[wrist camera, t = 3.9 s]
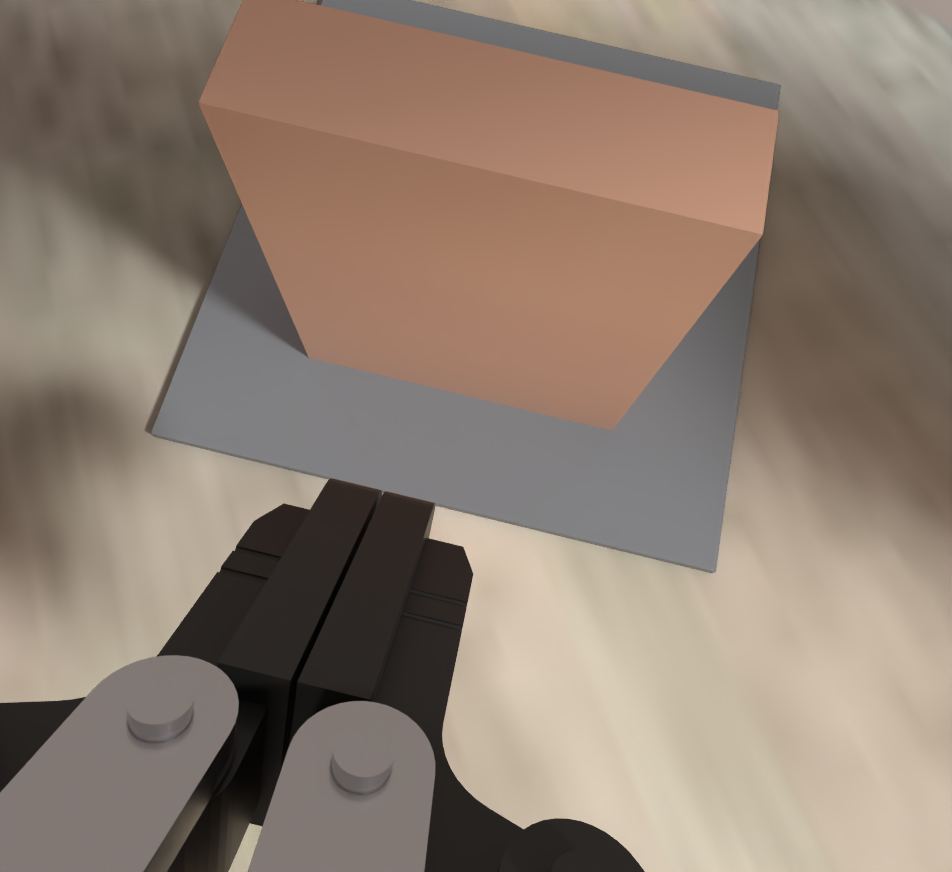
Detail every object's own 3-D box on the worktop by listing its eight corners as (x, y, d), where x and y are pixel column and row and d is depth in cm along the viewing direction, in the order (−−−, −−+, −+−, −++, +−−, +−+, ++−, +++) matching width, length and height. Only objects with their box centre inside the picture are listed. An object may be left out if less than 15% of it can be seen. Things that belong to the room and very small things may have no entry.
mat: (776, 91, 25) (780, 85, 25) (711, 572, 20) (715, 571, 19) (331, -11, 25) (329, -19, 25) (154, 436, 20) (150, 433, 20)
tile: (627, 351, 21) (780, 103, 12) (611, 431, 21) (763, 234, 11) (334, 281, 21) (251, -19, 12) (308, 357, 21) (198, 102, 11)
